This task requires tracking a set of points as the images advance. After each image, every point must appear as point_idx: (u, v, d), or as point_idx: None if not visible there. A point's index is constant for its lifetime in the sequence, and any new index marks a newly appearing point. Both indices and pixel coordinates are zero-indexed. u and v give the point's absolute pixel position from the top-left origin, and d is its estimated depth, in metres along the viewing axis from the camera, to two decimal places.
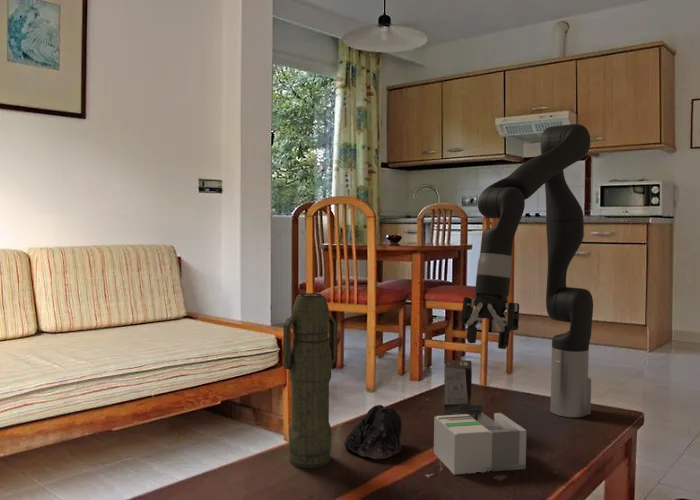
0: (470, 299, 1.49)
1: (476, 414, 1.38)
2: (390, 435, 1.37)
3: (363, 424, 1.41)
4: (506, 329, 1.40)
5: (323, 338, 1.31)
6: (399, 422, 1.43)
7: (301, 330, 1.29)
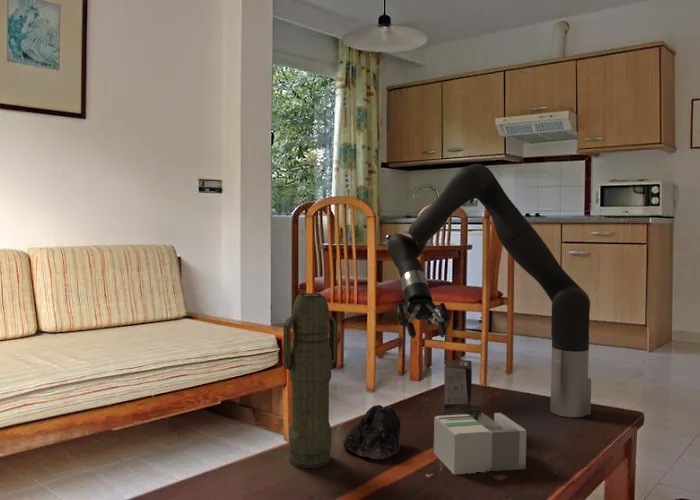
0: None
1: (476, 414, 1.38)
2: (389, 435, 1.37)
3: (362, 424, 1.41)
4: None
5: (323, 338, 1.31)
6: (398, 422, 1.42)
7: (301, 330, 1.29)
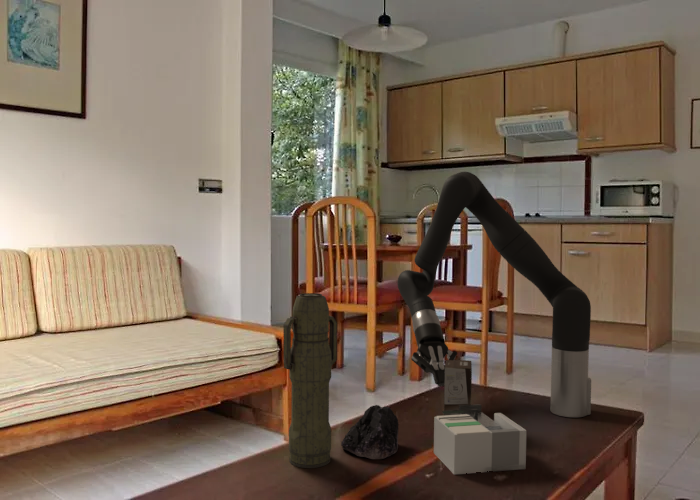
0: None
1: (476, 414, 1.38)
2: (387, 435, 1.37)
3: (360, 424, 1.41)
4: None
5: (323, 338, 1.31)
6: (396, 422, 1.43)
7: (301, 330, 1.29)
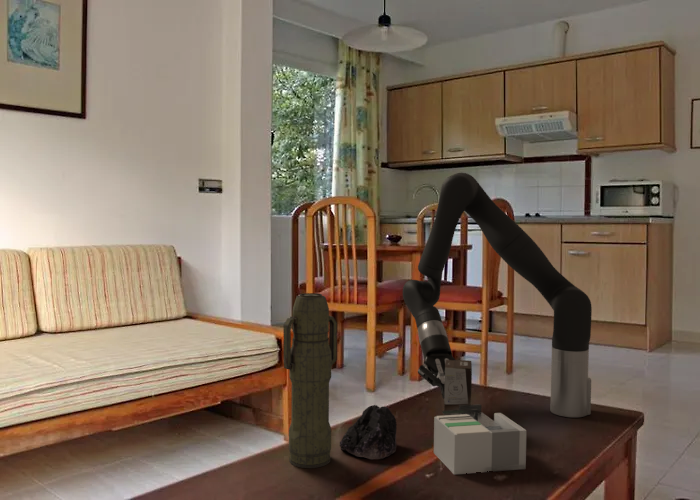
0: None
1: (476, 414, 1.38)
2: (386, 435, 1.37)
3: (358, 425, 1.41)
4: None
5: (323, 338, 1.31)
6: (394, 422, 1.43)
7: (301, 330, 1.29)
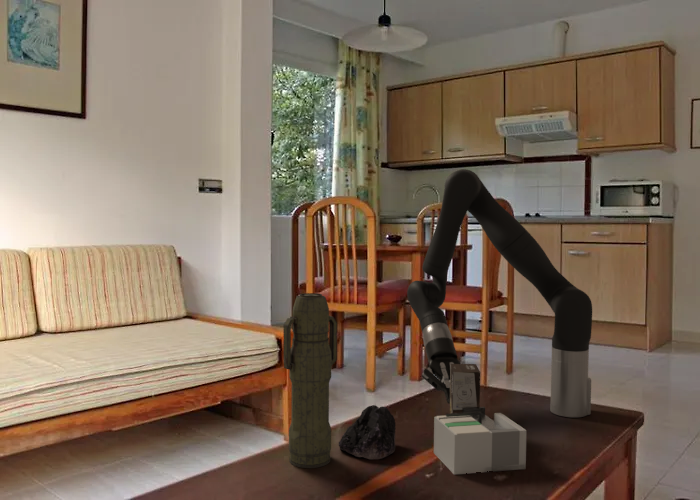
0: None
1: (480, 417, 1.36)
2: (385, 435, 1.37)
3: (357, 425, 1.41)
4: None
5: (323, 338, 1.31)
6: (393, 422, 1.43)
7: (301, 330, 1.29)
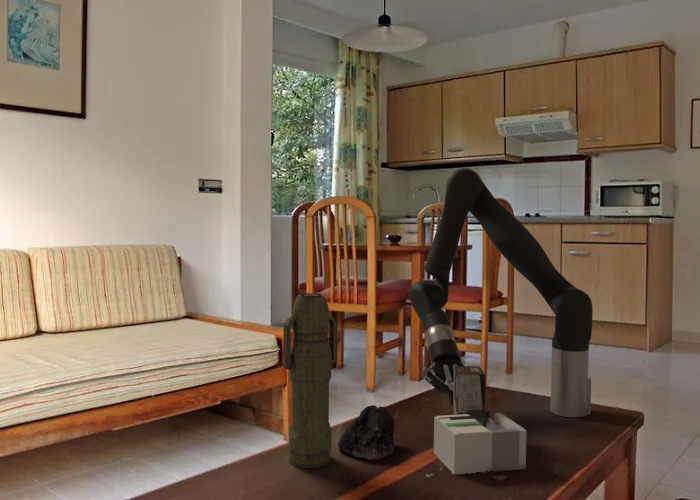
0: None
1: (484, 420, 1.34)
2: (384, 435, 1.36)
3: (356, 425, 1.41)
4: None
5: (323, 338, 1.31)
6: (392, 422, 1.43)
7: (301, 330, 1.29)
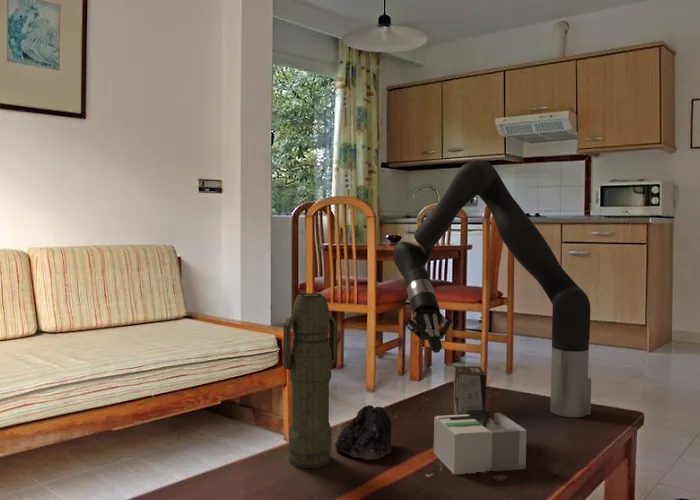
0: None
1: (485, 420, 1.34)
2: (382, 435, 1.36)
3: (354, 425, 1.40)
4: None
5: (323, 338, 1.31)
6: (389, 422, 1.43)
7: (301, 330, 1.29)
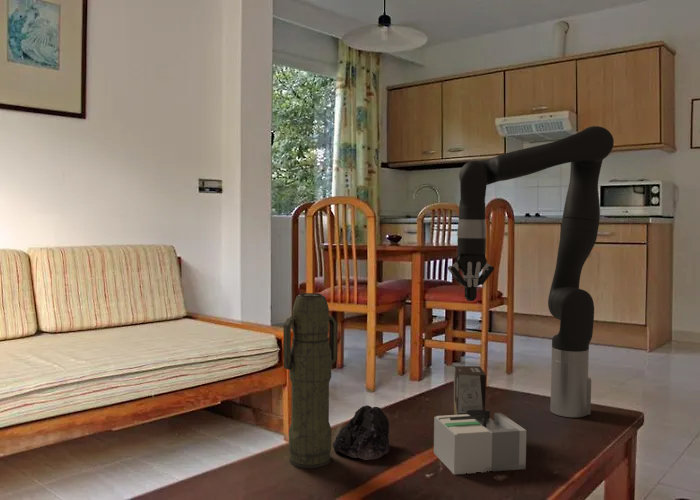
0: None
1: (485, 420, 1.34)
2: (380, 435, 1.36)
3: (351, 425, 1.40)
4: None
5: (323, 338, 1.31)
6: (386, 422, 1.43)
7: (301, 330, 1.29)
